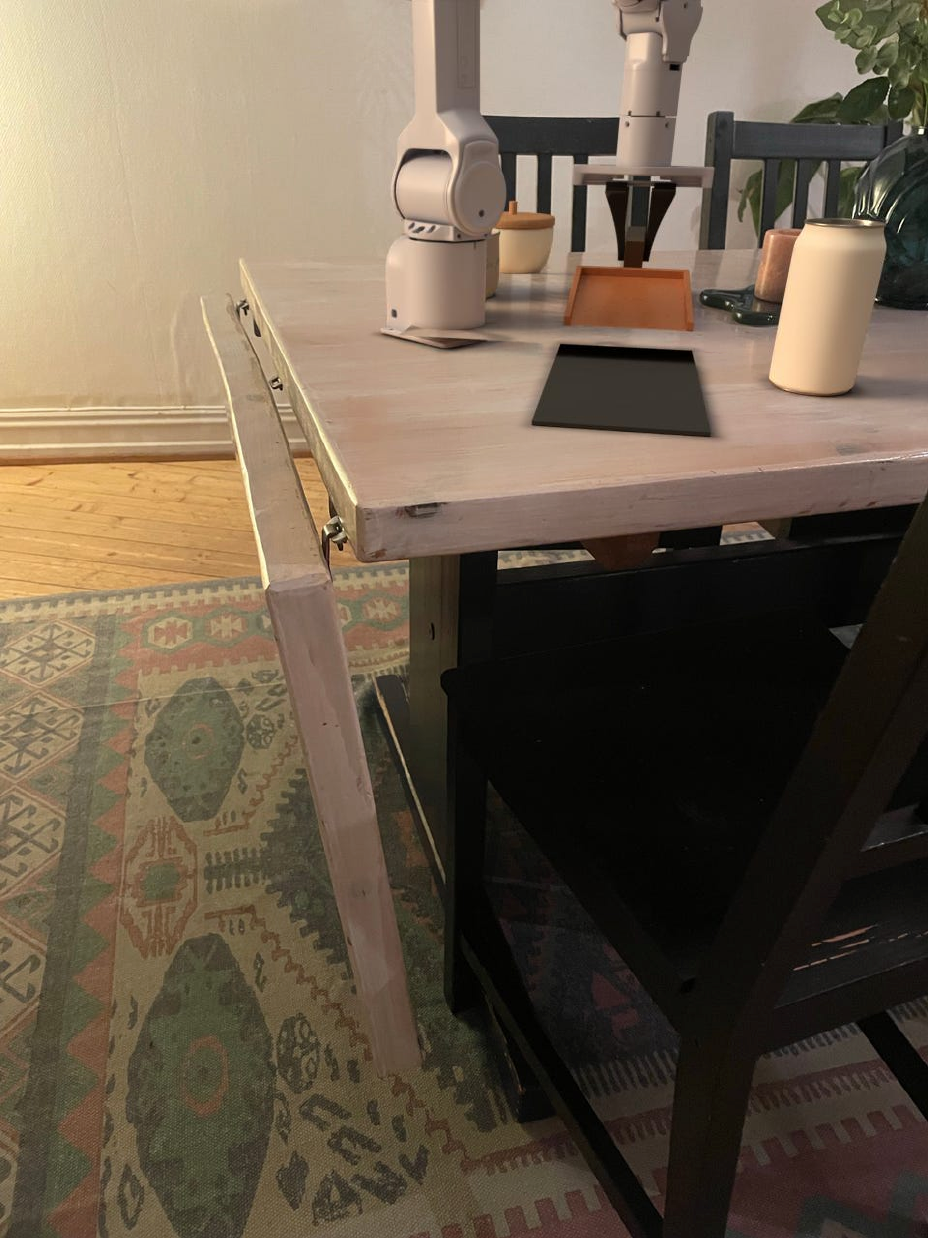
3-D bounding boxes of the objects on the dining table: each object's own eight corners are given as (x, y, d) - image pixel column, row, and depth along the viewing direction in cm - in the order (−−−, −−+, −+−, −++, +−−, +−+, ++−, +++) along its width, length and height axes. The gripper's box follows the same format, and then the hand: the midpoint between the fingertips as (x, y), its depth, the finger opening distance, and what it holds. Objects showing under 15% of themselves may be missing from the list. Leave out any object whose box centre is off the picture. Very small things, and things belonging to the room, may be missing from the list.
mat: (531, 424, 59) (531, 420, 59) (561, 342, 81) (561, 339, 81) (710, 436, 57) (710, 432, 57) (691, 349, 80) (691, 346, 79)
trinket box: (565, 278, 115) (570, 200, 110) (526, 289, 107) (530, 206, 102) (496, 271, 120) (498, 196, 115) (454, 281, 112) (454, 201, 107)
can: (755, 375, 71) (784, 217, 65) (830, 375, 72) (865, 217, 66) (787, 397, 66) (821, 226, 60) (868, 396, 66) (910, 226, 60)
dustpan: (562, 330, 82) (565, 286, 79) (579, 262, 99) (582, 224, 97) (691, 336, 80) (698, 292, 78) (686, 266, 97) (691, 228, 95)
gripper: (718, 118, 90) (698, 257, 97) (579, 116, 92) (570, 252, 99) (723, 117, 84) (702, 266, 91) (574, 115, 86) (565, 261, 93)
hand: (633, 260), depth 95 cm, fingers closed on dustpan, 2 cm apart
